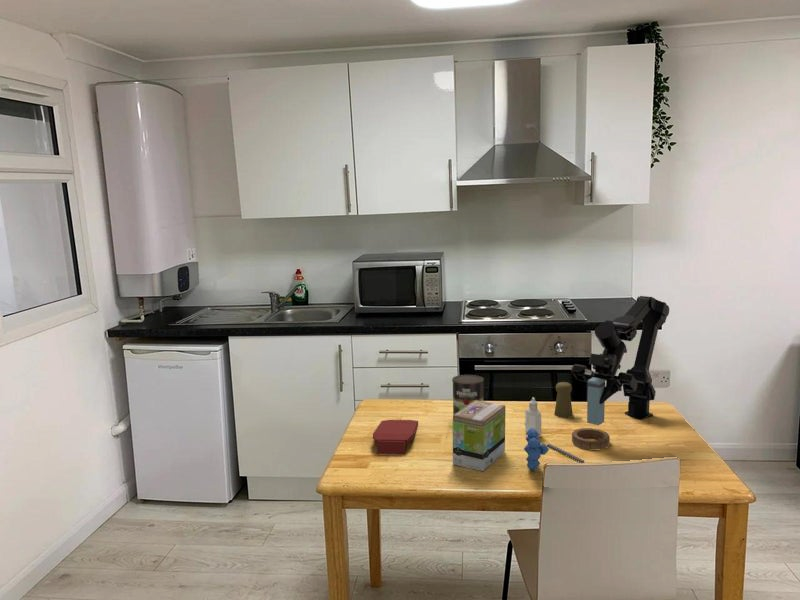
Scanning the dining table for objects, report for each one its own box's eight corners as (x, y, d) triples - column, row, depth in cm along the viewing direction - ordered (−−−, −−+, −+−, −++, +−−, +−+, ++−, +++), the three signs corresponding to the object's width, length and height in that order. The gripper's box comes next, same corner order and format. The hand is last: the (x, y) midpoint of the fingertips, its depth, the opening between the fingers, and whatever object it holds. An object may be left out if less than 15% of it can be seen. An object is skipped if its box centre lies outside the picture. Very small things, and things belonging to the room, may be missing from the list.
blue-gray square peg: (592, 419, 186) (593, 377, 183) (604, 421, 183) (605, 379, 181) (586, 422, 183) (587, 380, 181) (598, 425, 181) (599, 382, 178)
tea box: (484, 472, 168) (484, 420, 166) (451, 465, 174) (450, 414, 171) (506, 452, 181) (506, 403, 178) (474, 445, 186) (474, 398, 184)
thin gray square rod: (549, 445, 184) (549, 443, 184) (584, 462, 172) (584, 460, 172) (546, 446, 184) (546, 444, 184) (581, 463, 172) (581, 461, 172)
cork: (571, 411, 212) (571, 380, 210) (574, 417, 206) (574, 385, 204) (553, 411, 212) (553, 380, 211) (555, 417, 207) (555, 385, 205)
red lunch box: (382, 434, 208) (370, 454, 183) (382, 419, 208) (370, 437, 183) (418, 434, 206) (411, 454, 182) (418, 419, 206) (411, 438, 181)
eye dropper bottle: (527, 438, 190) (527, 400, 188) (524, 431, 196) (524, 394, 194) (541, 438, 190) (542, 400, 188) (538, 431, 196) (539, 394, 194)
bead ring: (590, 433, 192) (590, 425, 192) (616, 444, 183) (616, 436, 183) (565, 440, 188) (565, 432, 187) (590, 452, 178) (590, 444, 178)
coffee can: (482, 425, 202) (482, 384, 199) (451, 424, 204) (450, 383, 202) (485, 414, 212) (484, 374, 209) (455, 413, 214) (454, 373, 211)
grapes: (551, 480, 163) (551, 436, 161) (525, 479, 164) (525, 436, 162) (546, 461, 174) (547, 420, 172) (522, 460, 175) (522, 419, 173)
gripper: (574, 338, 188) (555, 382, 182) (634, 347, 176) (616, 394, 170) (586, 357, 195) (568, 400, 189) (645, 367, 182) (628, 414, 177)
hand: (593, 402), depth 181 cm, fingers closed on blue-gray square peg, 4 cm apart
